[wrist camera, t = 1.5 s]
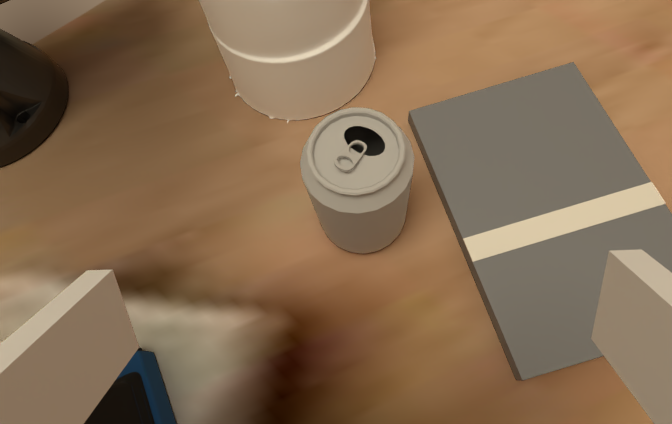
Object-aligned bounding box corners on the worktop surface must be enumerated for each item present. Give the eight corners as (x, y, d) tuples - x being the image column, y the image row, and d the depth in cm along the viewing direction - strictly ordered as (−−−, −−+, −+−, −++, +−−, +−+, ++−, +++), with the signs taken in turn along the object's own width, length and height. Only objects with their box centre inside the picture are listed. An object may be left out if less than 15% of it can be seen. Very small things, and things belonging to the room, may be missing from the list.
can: (421, 204, 36) (440, 130, 25) (374, 273, 34) (371, 226, 23) (352, 163, 38) (340, 78, 27) (304, 226, 37) (271, 163, 25)
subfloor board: (408, 120, 39) (408, 110, 38) (566, 72, 39) (573, 61, 38) (516, 380, 30) (523, 380, 29) (720, 317, 31) (738, 315, 29)
